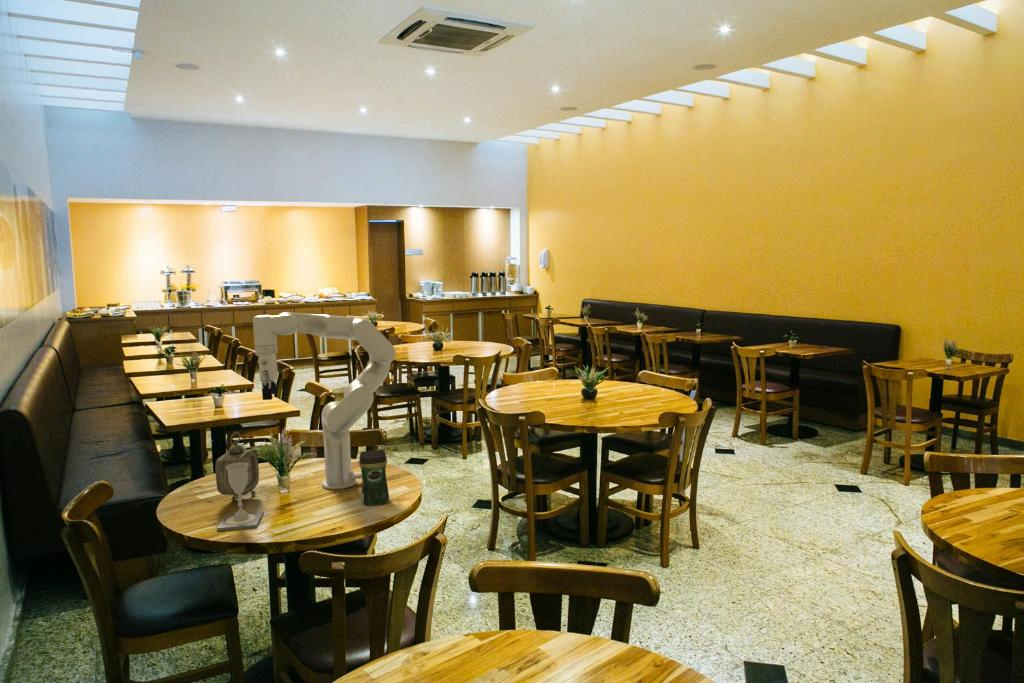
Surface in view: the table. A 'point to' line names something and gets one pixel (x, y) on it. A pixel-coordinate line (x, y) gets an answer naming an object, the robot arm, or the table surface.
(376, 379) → the robot arm
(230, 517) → the plate
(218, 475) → the tabletop clock
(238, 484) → the chalice
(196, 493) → the table surface
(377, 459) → the coffee jar
